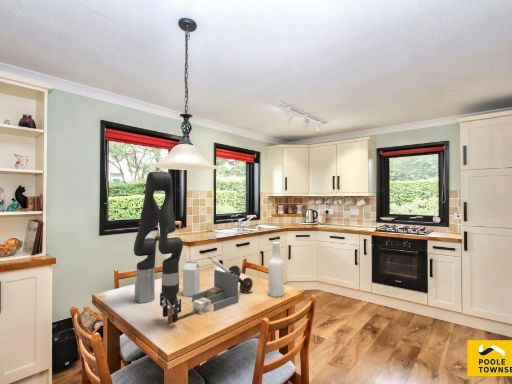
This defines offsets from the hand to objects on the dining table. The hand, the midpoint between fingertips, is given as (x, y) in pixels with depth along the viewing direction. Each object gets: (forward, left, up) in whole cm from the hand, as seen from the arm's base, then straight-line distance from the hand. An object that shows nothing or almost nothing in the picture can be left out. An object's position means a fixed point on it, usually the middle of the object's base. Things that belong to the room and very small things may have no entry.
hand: (170, 319), depth 125 cm
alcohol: (+60, -12, -2) cm, 62 cm away
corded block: (+10, 0, -2) cm, 10 cm away
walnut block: (+32, +9, -2) cm, 34 cm away
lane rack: (+30, +5, -1) cm, 30 cm away
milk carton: (+28, +24, -2) cm, 36 cm away
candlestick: (+53, +4, +2) cm, 53 cm away
